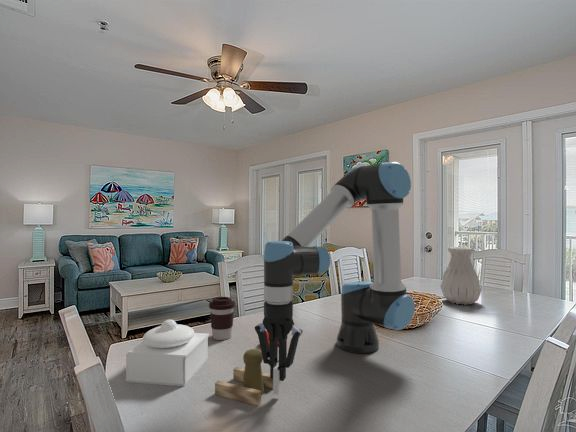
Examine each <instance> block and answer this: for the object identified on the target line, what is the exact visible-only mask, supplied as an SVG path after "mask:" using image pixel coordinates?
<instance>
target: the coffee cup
mask: <svg viewBox="0 0 576 432" xmlns="http://www.w3.org/2000/svg"><path fill="white" fill-rule="evenodd" d="M235 306H236V302H235V301H234V300H232V298H231V297H230V296H229V297H228V296H217V297H214V298H212V301H210V302H209V303H208V308H209V309H210V326H211V333H212V338H213V339H214V340H216V341H225V340H229V339H230V338H231V337H232V335H233V332H232V331H233V327H234V312H235V311H234V308H235Z"/></svg>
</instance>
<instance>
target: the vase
mask: <svg viewBox="0 0 576 432" xmlns="http://www.w3.org/2000/svg"><path fill="white" fill-rule="evenodd" d="M447 250H448V252H449V253H450V259H449V263H448V265H447V266H446V267H445V271H444V272H443V275H442V278H441V279H442V280H441V282H440V289H441V293H442V296H443V297H444V299H446V300H447V301H448V302H449V301H450V302H449V303H451V302H452V303H451V304H454V303H456V304H455V305H458V304H462V305H461V306H468V305H467V304H471V305H472V304H473V303H476V302H478V300H479V298H480V296H481V292H482V288H481V284H480V279H479V276H478V274H477V272H476V271H477V270H476V269H475V268H474V265H473V264H472V260H471V255H472V253H473V252H474V248H473V247H464V246H449V247H447ZM463 304H464V305H463Z"/></svg>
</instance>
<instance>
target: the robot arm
mask: <svg viewBox="0 0 576 432" xmlns="http://www.w3.org/2000/svg"><path fill="white" fill-rule="evenodd" d="M411 182H412V181H411V177H410V174H409V172H408V170H407V169H406V168H405V165H403V164H401V163H399V162H398V161H389V162H387V161H386V162H380V163H376V164H369V165H368V164H367V165H361V166H357V167H356V168H354V169H351V170H350V171H349V172H348V173H346V174H345V175H343V176H342V177H341V178H340V179H339V180H338V181H336V183H334V184H333V186H332V187H331V188H330V193H329V194H328V195H326V196H325V198H323V199H322V200H321V201H320V202H319V203H318V204H317V205H316V206H315V207H314V208H313V209H312V210H311V211H310V212H309V213H308V214H307V215H306V216H305V217H304V218H303V219H302V220H301V221H300V222H299V223H298V224H297V225H296V226H295V227H293V229H292V230H290V232H289V233H288V234H286V236H285V237H284V238H283V239H282V240H271V241H267V242H266V243H265V245H264V251H263V272H264V273H263V299H264V302H263V316H264V317H263V319H262V322H261V323H258V324H257V325H255V326H254V331H255V332H256V334H257V336H258V341H259V347H260V351H261V352H262V357H263V360H262V362H263V363H264V364H267V365H269V368H270V369H269V372H270V373H269V374H270V377H271V379H273V388H272V393H273V395H280V394H281V392H282V391H283V385H284V384H283V383H284V381H285V379H286V377H287V369H289V368H290V367H291V366H292V365H293V364H294V360H295V355H296V351H297V348H298V344H299V339H300V336H301V335H302V334H303V329H301V328H298V327H296V325H295V322H294V319H293V317H294V316H293V315H294V312H293V311H294V307H293V306H294V304H293V299H294V298H293V296H294V294H293V293H294V289H293V288H294V277H300V276H310V275H318V274H322V273H325V272H327V271H328V270H329V269H330V265H331V255H330V253H329V250H328V249H326V248H325V247H323V246H316V245H315V246H311V245H312V244H313V243H314V242H315V241H316V240H317V239H318V238H319V237H320V236H321V235H322V233H324V232H325V231H326V230H327V228H329V226H330V225H332V224H333V222H334V221H336V219H337V218H338V217H339V216H340V215H341V214H342V213H343V212H344V211H345V210H346V209H347V208H348V209H349V208H352V206H354V205H355V204H356V203H357V202H359V201H364V200H366V206H367V207H368V208H369V209H370V210H371V226H372V227H371V229H372V231H371V232H372V257H373V259H372V260H373V281H368V280H367V281H365V280H364V281H362V280H361V281H350V282H346V283H344V284H342V286H341V294H340V298H341V304H340V307H341V323H340V325H339V326H340V327H339V330H338V333H337V335H336V346H337V347H338V348H339V349H340V350H343V351H346V352H349V353H352V354H353V353H354V354H355V353H356V354H371V353H374V352H377V350H379V348H380V340H379V338H378V334H377V330H376V328H375V324H376V325H378V326H381V327H384V328H386V329H387V330H388V329H389V330H390V329H391V330H394V331H402V330H403V329H405V328H406V327H407V326H409V324H410V323H411V321H412V319H413V317H414V316H415V315H414V314H415V309H416V307H415V306H416V305H415V300H414V299H413V297H412V296H411V295H409V294H407V286H406V285H405V283H403V282H402V272H401V271H402V269H401V243H400V241H401V239H400V234H401V233H400V212H399V210H400V208H401V207H402V206H403V205H404V198H406V197H407V196H408V195H409V194H410V190H411V188H412V183H411ZM266 331H267V332H268V333H269V341H270V345H269V344H268V339H267V334H266ZM290 333H291V339H290V343H289V347H288V345H287V343H288V335H289V334H290ZM278 342H279V345H278ZM287 347H288V350H287Z"/></svg>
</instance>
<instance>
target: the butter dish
mask: <svg viewBox="0 0 576 432" xmlns="http://www.w3.org/2000/svg"><path fill="white" fill-rule="evenodd" d="M209 336H210V333H203V332H202V333H201V332H195V331H194V329H193V328H192V327H190V326H189V325H186V324H185V325H184V324H178V323H177V322H176V321H175V320H174V319H166V320H164V321H162V323H161V324H160V325H158V326H156V327H154V328H152V329H149V330H148V331H146V333H145V334H143V337H142V342H140V343H139V344H137V345H136V346H135V347H133V348H131V349H130V350H129V351H127V353H126V354H125V357H126V358H125V362H126V363H125V367H126V369H125V374H126V375H125V377H126V378H125V381H126V383H135V384H136V383H137V384H151V385H163V386H177V387H186V385H187V384H188V383H189V382H190V381H191V379H193V377H195V375H196V374H197V373H198V371H199V370H201V368H202V367H203V366H204V365H205V364H206V363H207V362H208V360H209V350H208V349H209V348H208V347H209V345H208V342H209V340H208V339H209Z"/></svg>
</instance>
